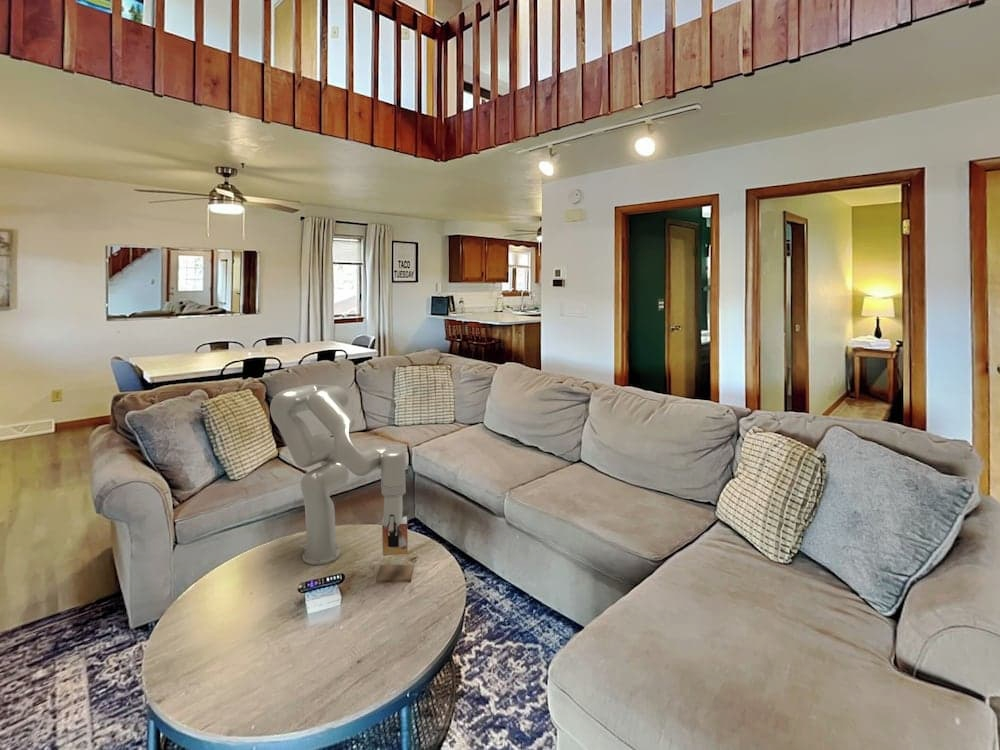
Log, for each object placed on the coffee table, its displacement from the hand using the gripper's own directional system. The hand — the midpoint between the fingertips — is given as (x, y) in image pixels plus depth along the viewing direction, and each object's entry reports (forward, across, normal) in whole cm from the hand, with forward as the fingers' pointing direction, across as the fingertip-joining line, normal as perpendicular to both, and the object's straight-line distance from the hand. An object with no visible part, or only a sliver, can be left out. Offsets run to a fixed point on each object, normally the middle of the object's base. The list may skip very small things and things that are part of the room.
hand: (395, 540), depth 171 cm
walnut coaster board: (+12, 0, 0) cm, 12 cm away
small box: (+4, 0, 0) cm, 4 cm away
